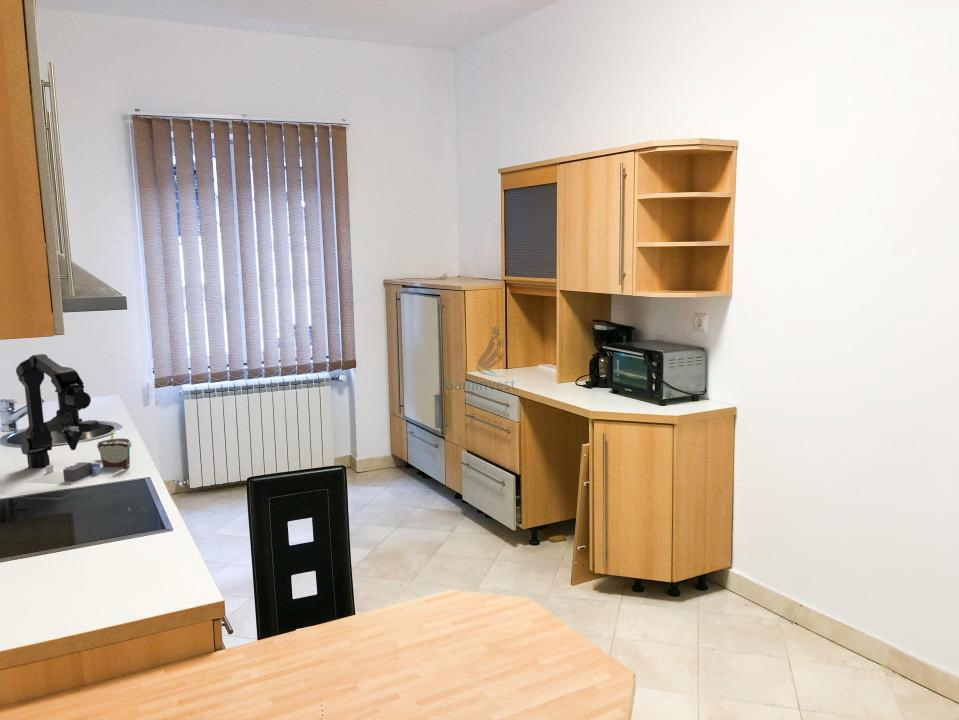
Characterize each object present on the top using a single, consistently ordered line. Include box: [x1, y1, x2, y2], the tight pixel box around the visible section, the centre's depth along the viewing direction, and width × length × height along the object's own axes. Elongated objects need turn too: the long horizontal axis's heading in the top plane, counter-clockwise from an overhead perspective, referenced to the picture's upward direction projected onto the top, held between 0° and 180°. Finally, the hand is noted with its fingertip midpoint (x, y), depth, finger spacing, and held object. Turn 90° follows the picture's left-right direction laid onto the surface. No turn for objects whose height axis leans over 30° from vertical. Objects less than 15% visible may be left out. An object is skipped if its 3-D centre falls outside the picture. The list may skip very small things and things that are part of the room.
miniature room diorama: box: [26, 462, 102, 485], centre depth 270 cm, size 20×13×4 cm, turn 79°
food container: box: [96, 437, 132, 470], centre depth 284 cm, size 12×6×10 cm, turn 84°
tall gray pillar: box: [62, 461, 92, 481], centre depth 269 cm, size 4×9×4 cm, turn 169°
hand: (73, 449), depth 267 cm, fingers closed
